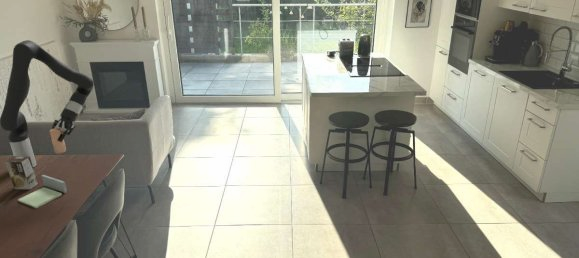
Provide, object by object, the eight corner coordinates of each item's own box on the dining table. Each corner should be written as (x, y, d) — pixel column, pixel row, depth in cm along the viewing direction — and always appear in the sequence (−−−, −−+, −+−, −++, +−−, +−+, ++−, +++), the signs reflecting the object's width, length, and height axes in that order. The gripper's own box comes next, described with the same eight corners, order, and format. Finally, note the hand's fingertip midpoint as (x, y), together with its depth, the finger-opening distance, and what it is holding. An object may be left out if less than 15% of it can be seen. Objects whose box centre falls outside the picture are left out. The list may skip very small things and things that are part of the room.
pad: (18, 201, 191) (18, 199, 191) (44, 188, 202) (43, 187, 202) (36, 208, 185) (35, 206, 185) (61, 194, 196) (61, 193, 196)
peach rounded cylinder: (52, 152, 203) (47, 130, 198) (62, 148, 207) (56, 127, 202) (59, 154, 200) (53, 132, 196) (68, 150, 205) (63, 129, 200)
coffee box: (38, 183, 207) (30, 156, 201) (30, 189, 201) (21, 162, 195) (22, 182, 208) (14, 155, 202) (13, 189, 202) (4, 161, 196)
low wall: (44, 185, 205) (41, 175, 202) (46, 184, 206) (43, 174, 203) (65, 193, 198) (62, 182, 195) (67, 191, 199) (64, 181, 196)
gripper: (56, 105, 205) (40, 135, 200) (75, 109, 199) (58, 140, 194) (68, 112, 212) (53, 140, 206) (86, 116, 206) (70, 145, 200)
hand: (55, 140), depth 200 cm, fingers closed on peach rounded cylinder, 5 cm apart
